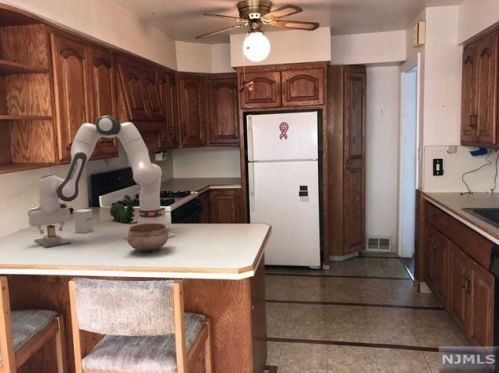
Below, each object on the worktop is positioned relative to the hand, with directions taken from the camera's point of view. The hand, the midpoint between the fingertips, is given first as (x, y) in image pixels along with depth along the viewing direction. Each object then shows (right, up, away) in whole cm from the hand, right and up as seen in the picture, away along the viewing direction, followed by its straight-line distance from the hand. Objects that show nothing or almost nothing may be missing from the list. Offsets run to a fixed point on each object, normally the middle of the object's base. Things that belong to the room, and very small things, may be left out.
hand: (51, 232), depth 224 cm
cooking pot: (+56, -7, -21) cm, 60 cm away
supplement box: (+8, -3, +25) cm, 27 cm away
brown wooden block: (0, -5, +1) cm, 5 cm away
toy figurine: (+22, +1, +53) cm, 57 cm away
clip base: (0, -6, +1) cm, 6 cm away
